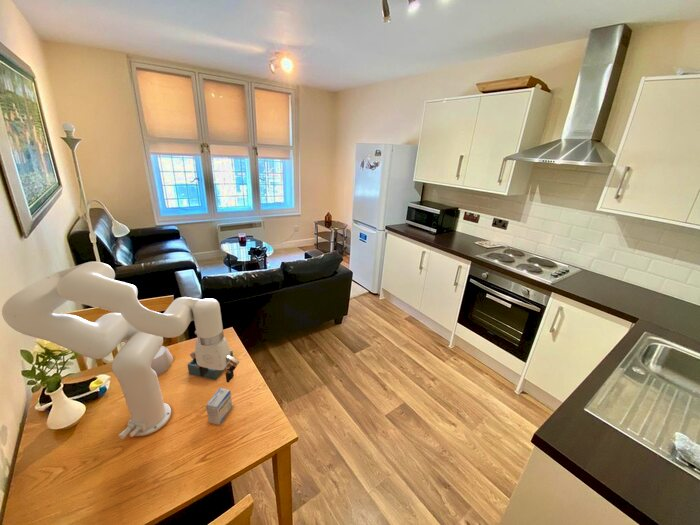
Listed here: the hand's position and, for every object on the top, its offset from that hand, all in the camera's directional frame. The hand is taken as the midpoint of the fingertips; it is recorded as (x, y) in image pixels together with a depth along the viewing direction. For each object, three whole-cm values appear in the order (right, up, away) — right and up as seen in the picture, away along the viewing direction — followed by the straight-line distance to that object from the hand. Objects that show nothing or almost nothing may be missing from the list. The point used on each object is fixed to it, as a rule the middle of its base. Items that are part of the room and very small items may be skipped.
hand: (217, 376), depth 98 cm
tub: (-15, -6, +27) cm, 32 cm away
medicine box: (-1, -16, +6) cm, 18 cm away
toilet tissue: (-37, -6, +25) cm, 45 cm away
